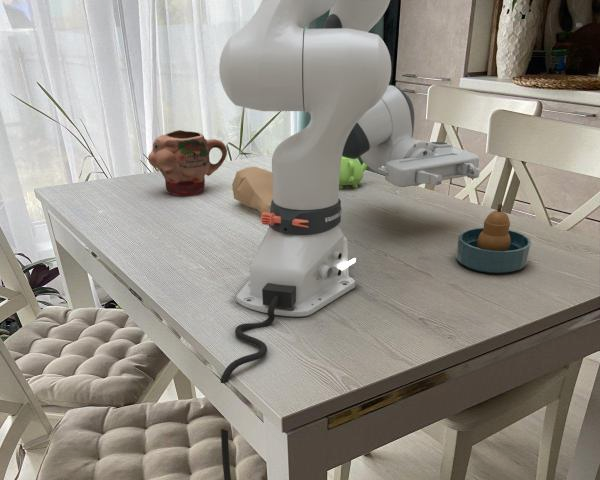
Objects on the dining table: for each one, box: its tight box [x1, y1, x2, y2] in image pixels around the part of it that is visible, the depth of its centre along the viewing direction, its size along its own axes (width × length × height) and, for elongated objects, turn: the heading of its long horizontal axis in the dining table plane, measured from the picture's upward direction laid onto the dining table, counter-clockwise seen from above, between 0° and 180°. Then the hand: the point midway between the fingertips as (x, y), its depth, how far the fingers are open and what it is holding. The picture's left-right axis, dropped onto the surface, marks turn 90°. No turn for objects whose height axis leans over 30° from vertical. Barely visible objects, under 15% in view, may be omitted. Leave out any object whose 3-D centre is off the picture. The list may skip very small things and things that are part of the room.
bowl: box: [455, 227, 532, 274], centre depth 115 cm, size 13×13×4 cm
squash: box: [231, 166, 273, 216], centre depth 142 cm, size 11×20×9 cm, turn 25°
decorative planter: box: [147, 129, 228, 197], centre depth 155 cm, size 20×12×14 cm, turn 115°
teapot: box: [339, 156, 369, 190], centre depth 159 cm, size 11×12×8 cm
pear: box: [477, 202, 511, 251], centre depth 113 cm, size 6×6×10 cm
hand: (458, 177), depth 118 cm, fingers open, 8 cm apart
